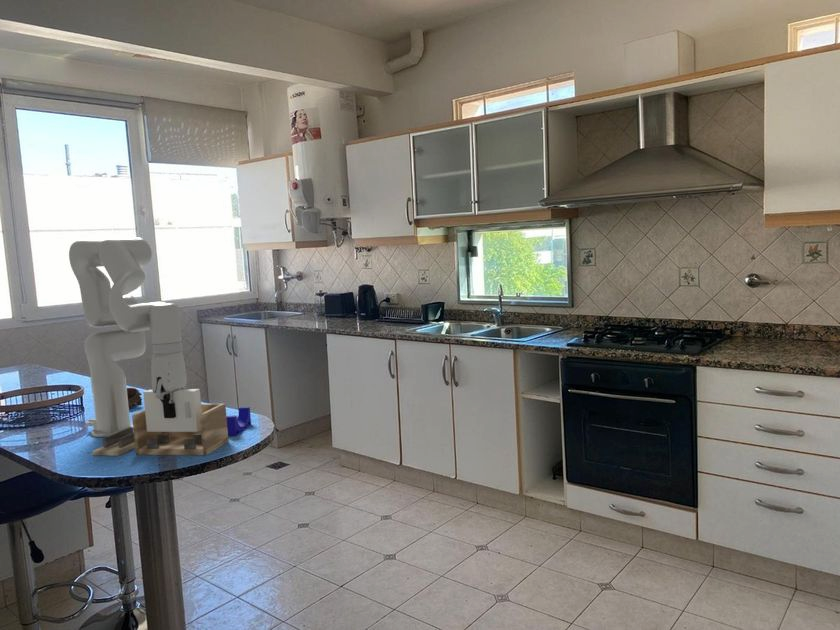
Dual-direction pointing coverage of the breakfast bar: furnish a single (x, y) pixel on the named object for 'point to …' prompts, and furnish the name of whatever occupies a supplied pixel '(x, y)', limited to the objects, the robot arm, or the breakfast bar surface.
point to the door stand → (117, 443)
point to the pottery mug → (133, 396)
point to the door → (184, 408)
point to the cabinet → (183, 435)
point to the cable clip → (238, 421)
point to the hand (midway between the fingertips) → (174, 415)
